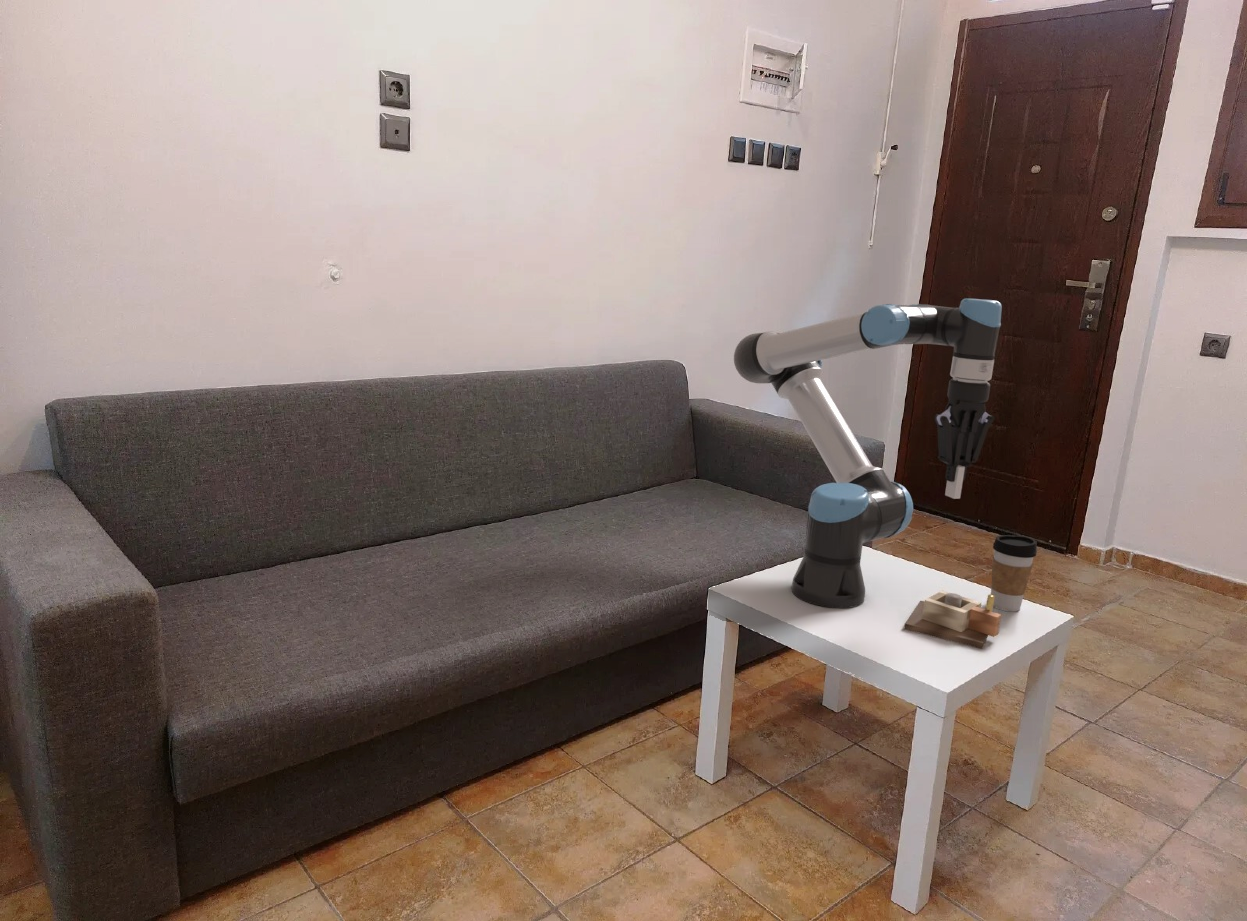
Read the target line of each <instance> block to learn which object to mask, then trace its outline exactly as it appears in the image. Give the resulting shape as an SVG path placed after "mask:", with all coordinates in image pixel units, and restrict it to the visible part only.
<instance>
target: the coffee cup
mask: <svg viewBox="0 0 1247 921" xmlns="http://www.w3.org/2000/svg"><path fill="white" fill-rule="evenodd" d="M1037 545H1038V541H1037V540H1036V539H1033V538H1032V537H1028V536H1025V535H1009V534H1008V535H1007V534H1006V535H1005V534H1002V535H998V536H996V537H995V539H994V542H993V544H992V549H993V551H994V552H993V556H992V566H991V567H992V568H991V582H990V583H991V585H990V588H991V589H990V595H994V596H995V598H994V603H993V608H995V609H997V610H1001V611H1005V612H1018V611H1020V610H1021V606H1022V603H1023V600H1024V595H1025V592H1026V588H1027V586H1028V583H1029V580H1030V579H1029V578H1030V575H1031V572H1032V568H1033V565H1034V563H1033V560H1034V558H1035V557H1036V556H1037V553H1038V550H1037V547H1038V546H1037Z"/></svg>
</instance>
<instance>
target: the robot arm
mask: <svg viewBox="0 0 1247 921" xmlns="http://www.w3.org/2000/svg"><path fill="white" fill-rule="evenodd" d="M1002 308H1003V306H1002V303H1001V302H999V301H998V300H992V299H983V298H982V299H979V298H963V299H962V300H961V301H960V304H959V307H948V306H942V305H941V306H940V305H939V306H938V305H933V304H932V305H930V304H926V303H924V304H923V303H922V304H921V303H918V304H915V303H914V304H912V303H911V304H909V305H907V304H905V305H904V304H903V305H902V304H892V303H886V304H880V305H875V306H872V307H871V308H870V309H868V310H866V311H864V312H858V313H855V314H852V315H851V314H850V315H847V316H844V317H838V318H836V319H835V318H834V319H831V320H827V321H824V322H819V323H815V324H811V325H808V326H804V327H799V328H796V329H795V328H794V329H792V330H787V331H785V332H784V331H783V332H774V331H769V330H768V331H765V332H757V333H756V332H755V333H751V334H749V335H747V336H745V337H743V338H742V339H741V340H740V341H739V342H738V344H736V345H737V346H736V347H735V349H734V353H733V363H734V367H735V370H736V371H737V372H738V374H739V375H740V377H742V378H743V379H744V380H745V381H748V382H750V383H754V384H771V385H772V387H773V388H774V390H775V392H776V394H777V395H778V397H779V398H781V399H786V400H788V402H789V403H790V405H791V406H792V409H793V410H794V411H795V414H796V415H797V417H798V419H799V421H800V422H801V423H802V425H803V426H804V429H805V431H806V432H807V435H808V436H809V437H810V439H811V440H812V443H813V444H814V446H815V448H816V449H817V451H818V453H819V455H820V456H821V458H822V460H823V462H824V463H825V465H826V467H827V469H828V470H829V472H830V474H831V475H832V477H833V479H834V481H835V482H829V483H825V484H821V485H819V486H817V487H816V488H814V489H813V491H812V493H811V495H810V499H809V500H810V501H809V504H808V507H807V509H808V510H807V511H808V514H807V523H806V530H805V531H806V533H805V543H804V551H803V552H804V553H803V556H802V559H801V561H800V563H799V565H798V568H797V570H796V571H795V574H794V576H793V578H792V584H791V592H792V593H793V595H795V596H796V597H797V598H799V599H800V600H802V601H804V602H806V603H810V604H813V605H816V606H820V607H827V608H835V609H841V608H842V609H846V608H847V609H848V608H854V607H858V606H860V605H862V604H863V603H864V601H865V597H866V596H865V595H866V586H865V581H864V577H863V571H862V566H861V559H862V551H863V544H866V543H869V542H873V541H877V540H880V539H887V538H891V537H893V536H894V535H898V534H899V533H901V532H903V531H904V530H906V529H907V527H908V526H909V525H910V523H911V521H912V519H913V518H912V517H913V512H914V503H913V499H912V496H911V494H910V492H909V491H908V490H907V488H906V487H905V486H904V485H902V484H900V483H898V482H895V481H891V480H890V478H889V477H888V476H887V474H886V472H885V470H884V469H883V468H881V467H878V466H874V465H873V464H872V462H871V461H870V460H869V457H868V456H867V454H866V453H865V451H864V450H863V448H862V446H861V444H860V443H859V441H858V440H857V438H856V436H855V435H854V433H853V430H851V428H850V426H849V425H848V422H847V421H846V419H845V418H844V417H843V415H842V413H841V411H840V409H839V408H838V406H837V405H836V403H835V401H834V399H833V397H832V396H831V395H830V392H829V391H828V389H827V388H826V386H825V385H824V382H823V381H822V378H823V375H824V371H823V368H822V366H823V361H824V360H828V359H832V358H837V357H841V356H842V357H843V356H847V355H851V354H857V353H860V352H866V351H869V350H870V351H871V350H874V349H881V348H886V347H890V346H891V347H892V346H895V345H896V346H898V345H924V344H925V345H926V344H928V345H939V346H948V347H953V354H952V361H951V366H950V367H951V368H950V372H949V376H950V377H952V378H951V379H950V380H949V382H948V387H947V394H946V395H947V398H948V402H947V404H946V406H945V410H944V411H943V412H942V413H940V414H938V413H936V414H935V415H934V416H933V418H934V421H935V424H936V425H937V426H936V428H937V430H936V431H937V446H938V460H939V461H941V462H943V463H944V464H946V469H945V470H946V471H945V476H944V478H945V481H946V487H945V493H944V496H946V497H949V498H951V499H952V500H953V499H954V500H955V499H959V500H960V499H961V495H962V489H963V482H965V480H966V477H967V469H968V468H971V467H972V466H973V463H974V464H975V463H976V462H977V461H978V459H979V457H980V454H981V451H982V447H983V445H984V442H985V439H986V436H987V433H988V431H989V428H990V426H992V424H993V423H994V422H995V416H994V415H990V414H989V413H988V412H986V403H987V402H988V400H989V396H990V391H991V390H990V389H991V384H990V382H988V381H990V380H992V376H993V372H994V370H993V369H994V364H995V359H996V358H995V356H996V355H995V354H996V350H997V344H998V337H999V332H1000V328H1001V326H1002V323H1001V321H1002V320H1001V319H1002V310H1003V309H1002ZM822 360H823V361H822Z"/></svg>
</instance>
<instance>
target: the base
mask: <svg viewBox="0 0 1247 921" xmlns="http://www.w3.org/2000/svg"><path fill="white" fill-rule="evenodd" d="M962 597H963V595H960V594H957V593H952V592H949V593H947V594H946V597H945V604H948V605H951V606H954V607H957V608H961V601H962ZM924 601H925V600H919V602H918V603H917V605H916V606H915V607H914V610H913V611H912V612H911V614H910V615H909V616H908V617H907V620H906V621H905V622H904V628H903V629H904V630H906V631H910V632H914V633H918V634H921V635H925V636H930V637H934V638H938V639H941V640H945V641H949V642H953V643H957V644H959V645H960V644H961V645H964V646H968V647H969V646H970V647H972V648H977V649H981V650H983V648H984V647H985V645H986V642H987V640H988V637H989V635H987V634H984V633H981V632H978V631H975V630H972V629H969V628H968V629H966V630H964V631H963V632H959V631H956V630H953V629H950V628H947V627H944V626H941V625H939V624H936V623H933V622H930V621H927V620H924V619H922V615H923V608H924Z"/></svg>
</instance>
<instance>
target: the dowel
mask: <svg viewBox="0 0 1247 921" xmlns="http://www.w3.org/2000/svg"><path fill="white" fill-rule="evenodd" d="M994 598H995V596H994V595H991V594H988V595H987V599H986V605H985V610H988V611H991V612H993V608H994V607H993V603H994Z"/></svg>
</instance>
